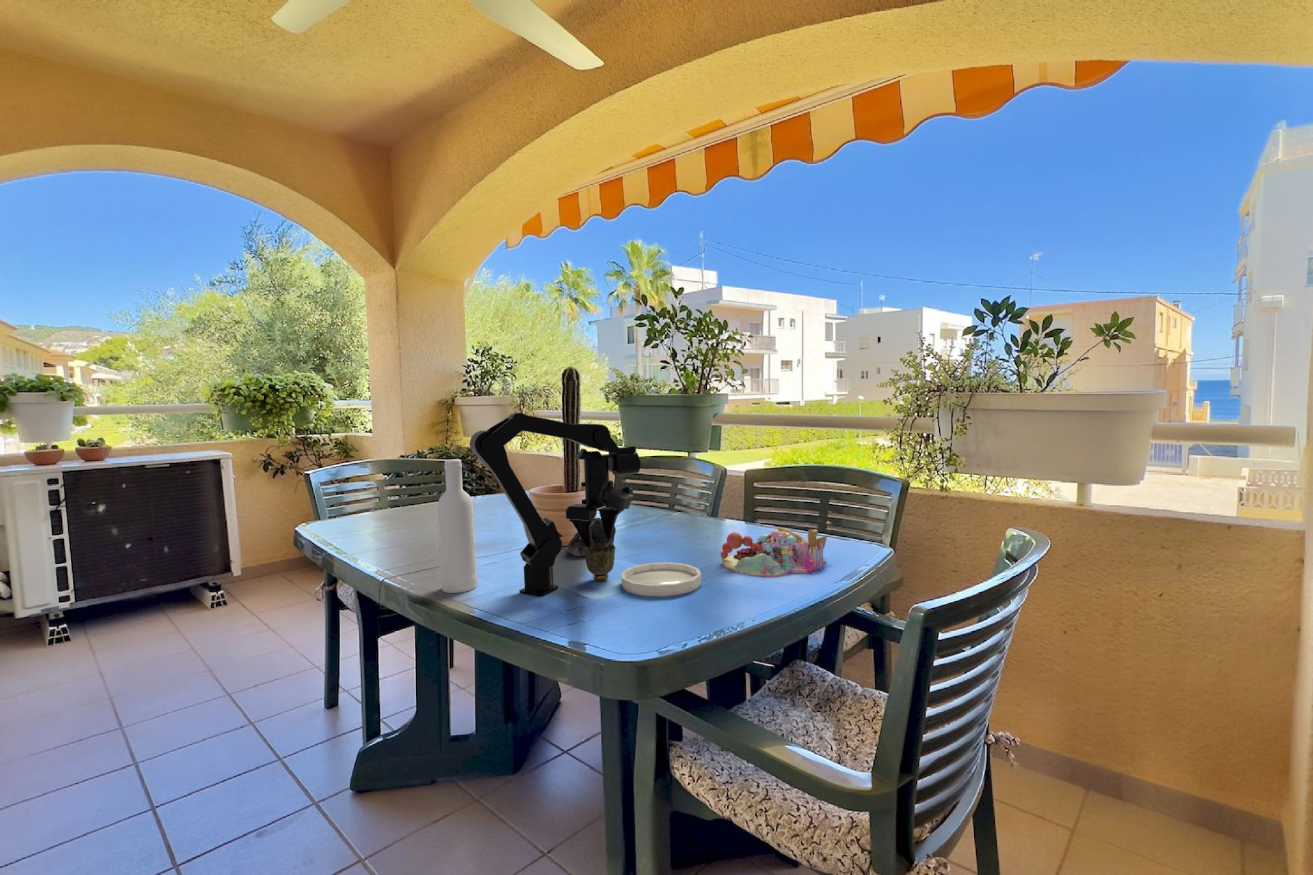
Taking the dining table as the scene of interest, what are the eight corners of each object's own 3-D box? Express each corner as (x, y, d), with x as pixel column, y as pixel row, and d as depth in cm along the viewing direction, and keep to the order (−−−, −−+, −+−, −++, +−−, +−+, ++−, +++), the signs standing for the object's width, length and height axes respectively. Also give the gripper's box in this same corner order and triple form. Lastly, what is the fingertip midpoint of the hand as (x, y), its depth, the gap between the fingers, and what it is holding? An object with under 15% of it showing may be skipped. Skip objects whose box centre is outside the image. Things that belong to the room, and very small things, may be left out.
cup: (622, 576, 145) (620, 544, 145) (606, 585, 138) (605, 551, 138) (595, 574, 148) (593, 541, 148) (579, 582, 142) (577, 549, 141)
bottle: (435, 589, 140) (428, 460, 138) (466, 580, 146) (459, 457, 144) (452, 595, 135) (445, 462, 133) (484, 587, 141) (477, 459, 139)
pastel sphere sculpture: (764, 548, 170) (764, 515, 169) (842, 561, 153) (842, 525, 153) (708, 567, 152) (707, 531, 151) (789, 585, 135) (788, 544, 135)
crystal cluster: (557, 557, 168) (556, 523, 167) (582, 542, 181) (581, 509, 179) (600, 565, 163) (599, 529, 161) (622, 548, 175) (622, 515, 174)
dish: (681, 600, 126) (681, 589, 126) (607, 591, 134) (607, 580, 134) (712, 577, 143) (711, 566, 142) (644, 569, 150) (644, 559, 150)
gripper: (605, 483, 130) (608, 555, 131) (645, 473, 147) (647, 536, 148) (562, 482, 135) (565, 550, 136) (605, 472, 151) (607, 533, 152)
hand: (598, 542), depth 143 cm, fingers open, 9 cm apart
